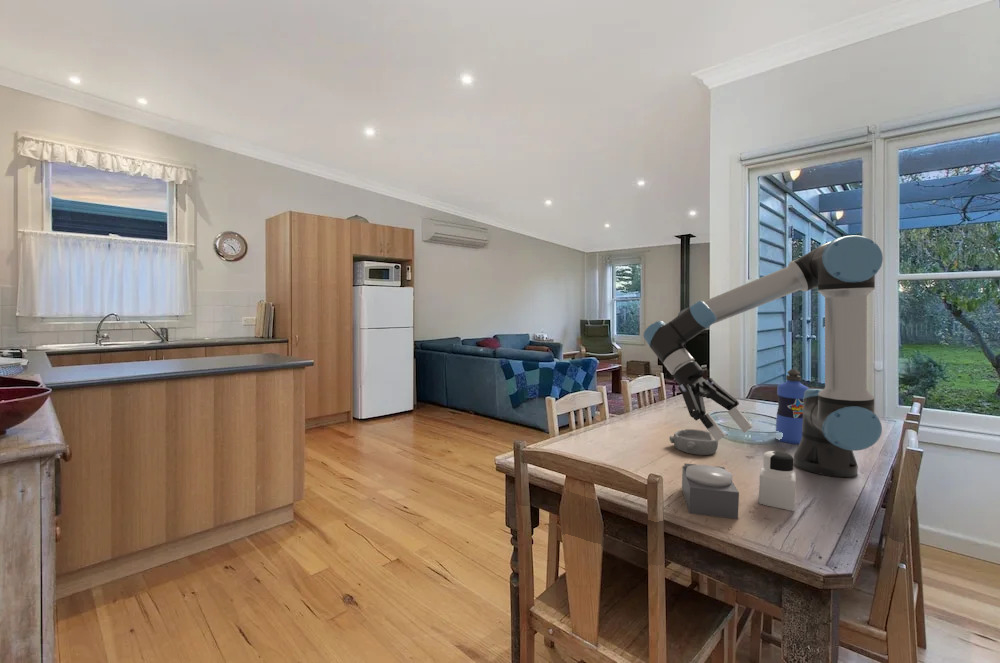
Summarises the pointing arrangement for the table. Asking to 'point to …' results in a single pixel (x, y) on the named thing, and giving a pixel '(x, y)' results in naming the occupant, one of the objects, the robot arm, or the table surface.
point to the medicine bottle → (777, 481)
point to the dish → (694, 442)
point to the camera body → (709, 491)
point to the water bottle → (790, 408)
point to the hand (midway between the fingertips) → (735, 434)
